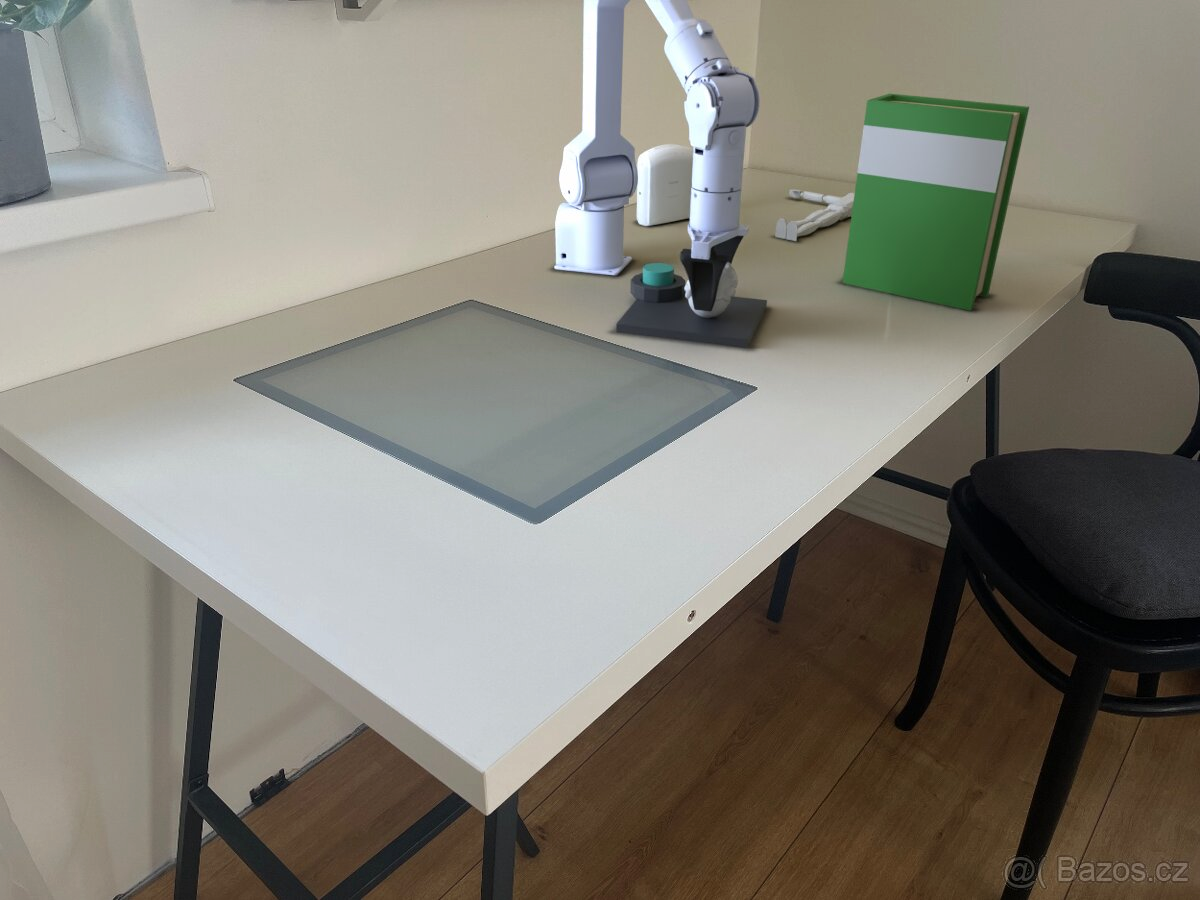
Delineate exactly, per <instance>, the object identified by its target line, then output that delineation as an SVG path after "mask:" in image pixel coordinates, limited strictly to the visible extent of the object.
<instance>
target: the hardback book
mask: <svg viewBox="0 0 1200 900" xmlns="http://www.w3.org/2000/svg"><path fill="white" fill-rule="evenodd" d="M1029 110H1030V106H1024V105H1016V104H1015V105H1014V104H1004V103H994V102H985V101H984V102H982V101H974V100H973V101H971V100H963V99H962V100H961V99H950V98H940V97H930V96H922V95H921V96H920V95H909V94H900V93H899V94H898V93H887V94H884V95H883V94H882V95H880V96H876V97H873V98H870V99H867V101H866V107H865V115H864V120H863V121H864V122H863V127H862V128H863V129H862V130H863V131H862V137H861V143H860V151H859V159H858V166H857V171H856V173H857V174H856V180H855V188H854V193H855V194H854V201H853V209H852V216H851V218H850V225H849V232H848V238H847V239H848V240H847V247H846V253H845V260H844V269H843V275H842V284H844V285H845V284H846V285H851V286H855V287H860V288H864V289H869V290H874V291H878V292H884V293H888V294H890V295H895V296H899V297H904V298H909V299H915V300H917V301H923V302H929V303H932V304H938V305H943V306H947V307H952V308H956V309H961V310H966V311H972V310H973V309H974V306H975V301H976V298H977V297H978V296H979V297H984V298H987V297H988V296H989V294H990V290H991V285H992V281H993V275H994V272H995V266H996V262H997V257H998V252H999V249H1000V244H1001V240H1002V239H1001V238H1002V234H1003V230H1004V225H1005V221H1006V216H1007V211H1008V208H1009V207H1008V206H1009V202H1010V198H1011V194H1012V189H1013V185H1014V184H1013V183H1014V179H1015V175H1016V170H1017V166H1018V161H1019V156H1020V152H1021V147H1022V142H1023V137H1024V133H1025V129H1026V124H1027V119H1028V114H1029Z"/></svg>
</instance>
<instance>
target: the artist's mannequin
mask: <svg viewBox="0 0 1200 900" xmlns="http://www.w3.org/2000/svg"><path fill="white" fill-rule="evenodd" d="M854 194H855V192H849V193H847V194H846V195H844V196H842V197H841V196H836V195H831V194H827V195H825V194H823V193H819V192H814V191H807V190H804V191H803V190H800V189H789V190H788V195H789V196H790V197H792V198H797V199H798V198H799V199H800V198H802V197H803V199H806V200H809V201H813V202H818V203H824V202H825V203H826V204H828V205H827V207H826V208H825V209H818V210H816V211H813V212H811V213H810V214H809V215H808V216H806V217H805V218H804V219H798V220H790V221H789V222H788V223H787V221H786V219H785V218H779V219H778V220H777V221H776V224H775V238H778V239H782V240H783V239H784V240H788V241H793V242H797V240H798V237H804V236H808V235H810V234H812V233H813V232H815V231H816V230H817V229H818V228H826V227H829V226H832V225H834V224H836V223H837V222H838V221H843V220H844V219H847V218H850V217H851V216H852V209H853V201H854Z"/></svg>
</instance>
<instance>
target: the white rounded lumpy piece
mask: <svg viewBox="0 0 1200 900" xmlns="http://www.w3.org/2000/svg"><path fill="white" fill-rule="evenodd" d="M738 282H739V279H738V274H737V271H736V269H735V268H734V266H732V264H731V263H729V262H727V264H726V265H725V268H724V270H723V272H722V275H721V278H720V281H719V285H718V290H717V295H716V299H715V303H714V306H713V309H712V311H701V310H695V309H694V306H693V301H692V295H691V288H690V283H689V279H687V281H686V284H685V288H684V289H685V291H686V294H685V297H686V298H687V299H688V301H689V305H690V307H691V309H692V310H693V311H694V312H695V313H696V314H697V315H699V316H701V317H705V318H712V317H716V316H718V315H720V314H721V313H722V312H723V311H724V310H725V309H726V307H727V306H728V305H729V304H730V301H731V297H733V296H734V297H735V294H736V289H737V286H738Z"/></svg>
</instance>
